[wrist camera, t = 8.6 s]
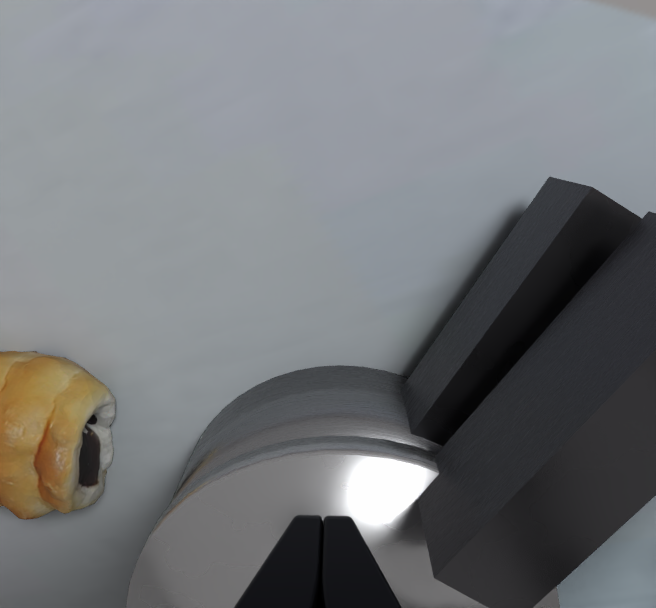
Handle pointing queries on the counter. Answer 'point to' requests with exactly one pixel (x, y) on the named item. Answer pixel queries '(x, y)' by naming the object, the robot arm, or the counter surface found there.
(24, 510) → the pastry
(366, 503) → the lid
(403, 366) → the counter surface
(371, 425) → the pot
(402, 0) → the counter surface
